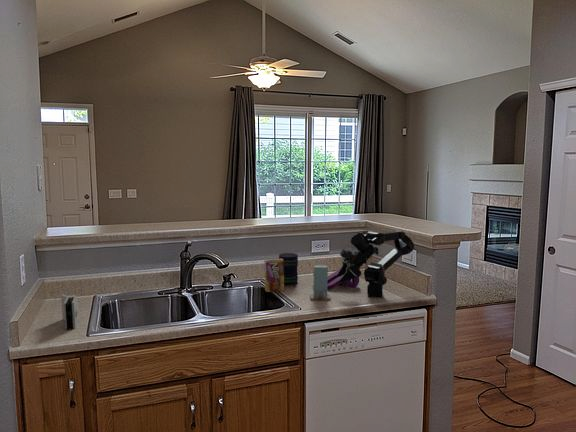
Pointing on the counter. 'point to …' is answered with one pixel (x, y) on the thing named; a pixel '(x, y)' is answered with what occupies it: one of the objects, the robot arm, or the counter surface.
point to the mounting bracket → (335, 281)
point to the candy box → (274, 275)
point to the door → (320, 279)
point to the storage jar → (290, 268)
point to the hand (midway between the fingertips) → (338, 279)
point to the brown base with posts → (325, 297)
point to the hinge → (70, 311)
